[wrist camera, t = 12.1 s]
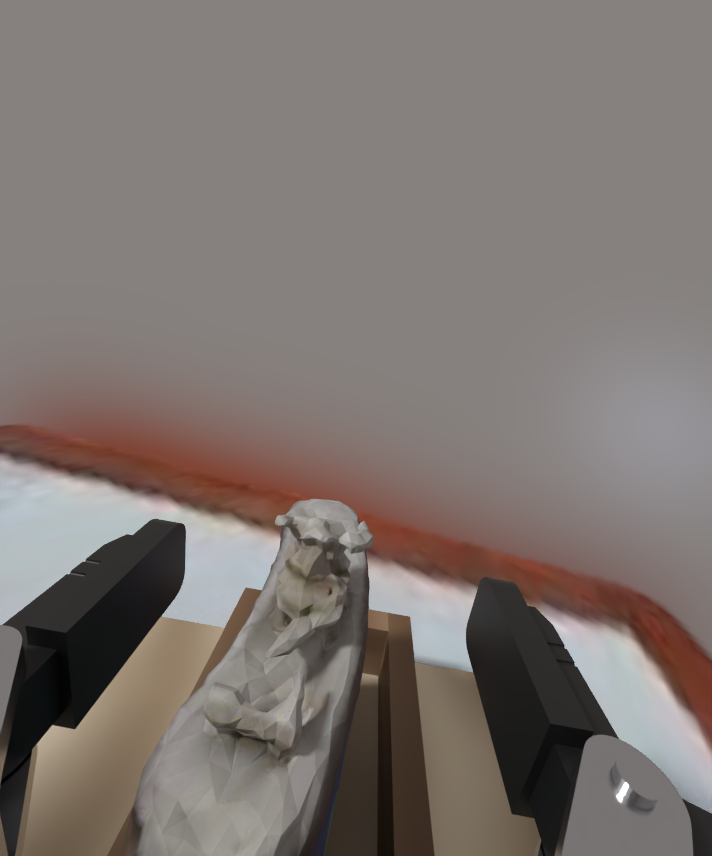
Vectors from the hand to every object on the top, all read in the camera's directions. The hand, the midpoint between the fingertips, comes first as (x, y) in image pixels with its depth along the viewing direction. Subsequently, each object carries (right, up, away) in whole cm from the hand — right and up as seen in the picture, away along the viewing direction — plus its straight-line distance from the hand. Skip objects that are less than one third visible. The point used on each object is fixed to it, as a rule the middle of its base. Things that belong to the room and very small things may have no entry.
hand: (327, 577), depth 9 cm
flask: (-2, -8, +1) cm, 8 cm away
